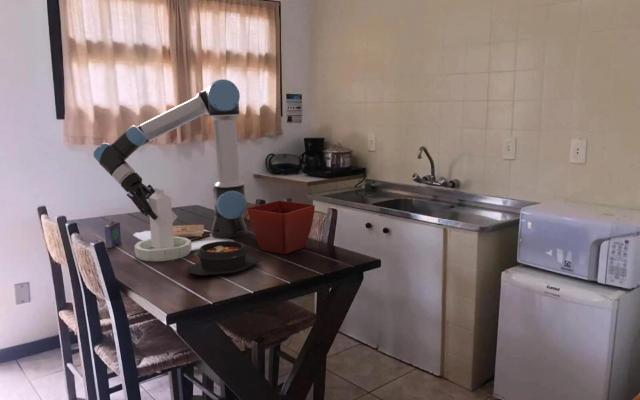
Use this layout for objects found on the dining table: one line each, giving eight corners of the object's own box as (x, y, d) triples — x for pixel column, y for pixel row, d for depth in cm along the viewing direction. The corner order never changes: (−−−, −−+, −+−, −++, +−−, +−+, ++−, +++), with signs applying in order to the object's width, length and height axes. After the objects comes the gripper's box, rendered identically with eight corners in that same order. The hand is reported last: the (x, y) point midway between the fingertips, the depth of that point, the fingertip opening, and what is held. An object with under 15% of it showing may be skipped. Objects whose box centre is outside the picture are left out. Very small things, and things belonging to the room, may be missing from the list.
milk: (160, 249, 195) (155, 191, 191) (151, 246, 199) (147, 189, 195) (174, 246, 200) (170, 188, 195) (165, 243, 204) (161, 187, 199)
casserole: (201, 285, 165) (200, 259, 164) (178, 270, 180) (176, 247, 178) (269, 269, 180) (268, 245, 179) (242, 257, 195) (241, 235, 193)
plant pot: (247, 250, 203) (245, 207, 200) (280, 239, 218) (279, 199, 215) (284, 258, 192) (283, 213, 188) (316, 247, 206) (316, 205, 203)
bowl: (194, 245, 210) (194, 235, 210) (185, 260, 191) (185, 249, 190) (143, 247, 209) (143, 237, 208) (129, 262, 189) (128, 251, 189)
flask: (110, 248, 207) (108, 222, 205) (103, 248, 208) (101, 222, 206) (122, 242, 216) (120, 217, 214) (116, 242, 217) (113, 216, 215)
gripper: (137, 181, 208) (177, 222, 208) (105, 189, 189) (148, 235, 188) (148, 167, 206) (188, 209, 206) (117, 175, 186) (161, 221, 186)
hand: (169, 221), depth 197 cm, fingers closed on milk, 8 cm apart
